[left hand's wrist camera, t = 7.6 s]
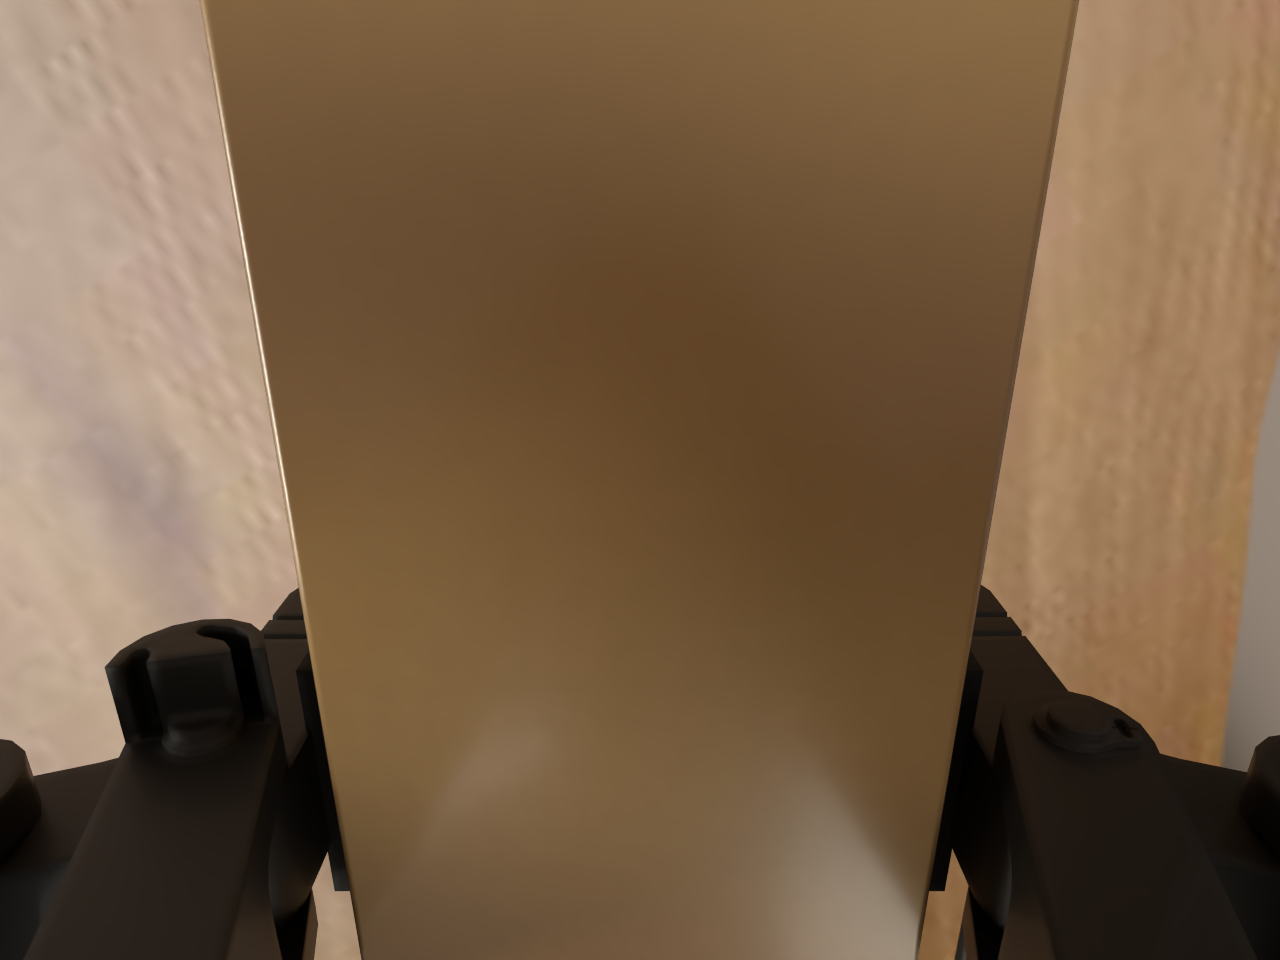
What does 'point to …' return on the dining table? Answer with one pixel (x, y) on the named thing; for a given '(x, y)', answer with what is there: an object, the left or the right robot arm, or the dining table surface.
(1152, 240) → the dining table surface
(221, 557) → the dining table surface
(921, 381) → the bar
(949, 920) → the dining table surface
